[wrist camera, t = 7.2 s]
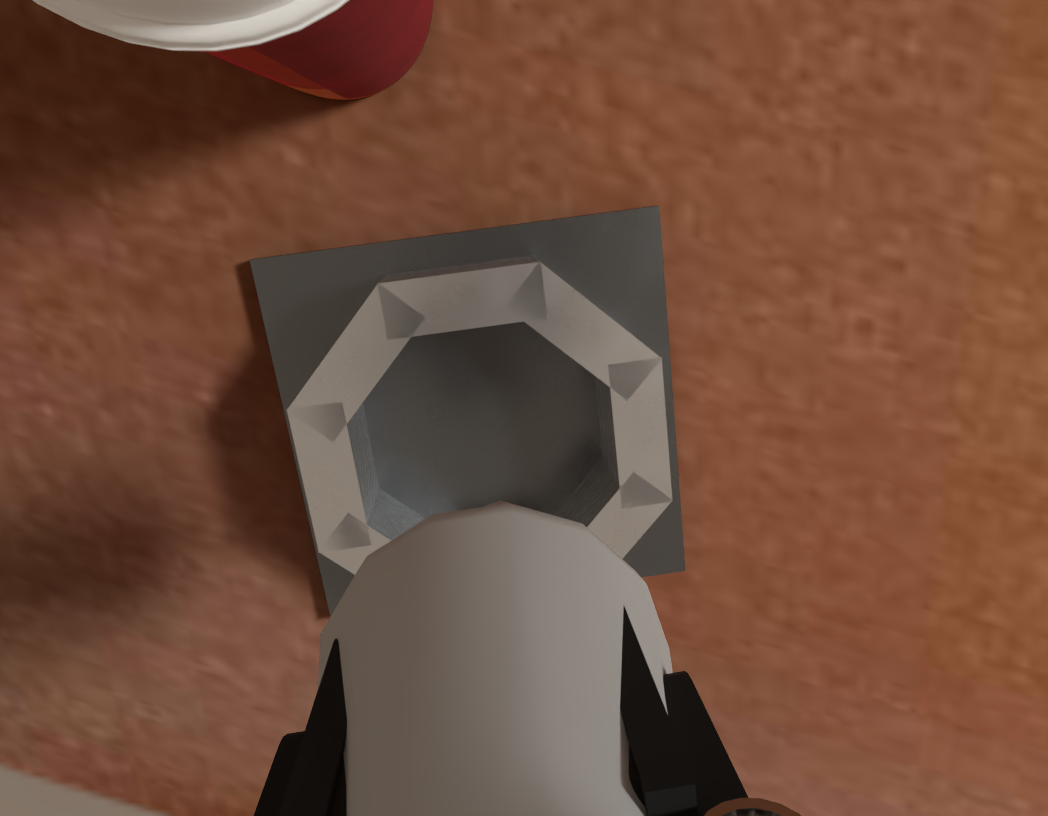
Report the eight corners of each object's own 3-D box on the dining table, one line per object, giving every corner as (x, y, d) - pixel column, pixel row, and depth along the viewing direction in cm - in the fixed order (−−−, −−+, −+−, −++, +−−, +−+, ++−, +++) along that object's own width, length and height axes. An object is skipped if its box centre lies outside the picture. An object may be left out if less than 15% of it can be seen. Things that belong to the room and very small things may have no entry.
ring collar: (255, 258, 23) (216, 267, 20) (654, 205, 23) (686, 205, 20) (335, 614, 27) (314, 675, 23) (680, 562, 27) (711, 615, 24)
